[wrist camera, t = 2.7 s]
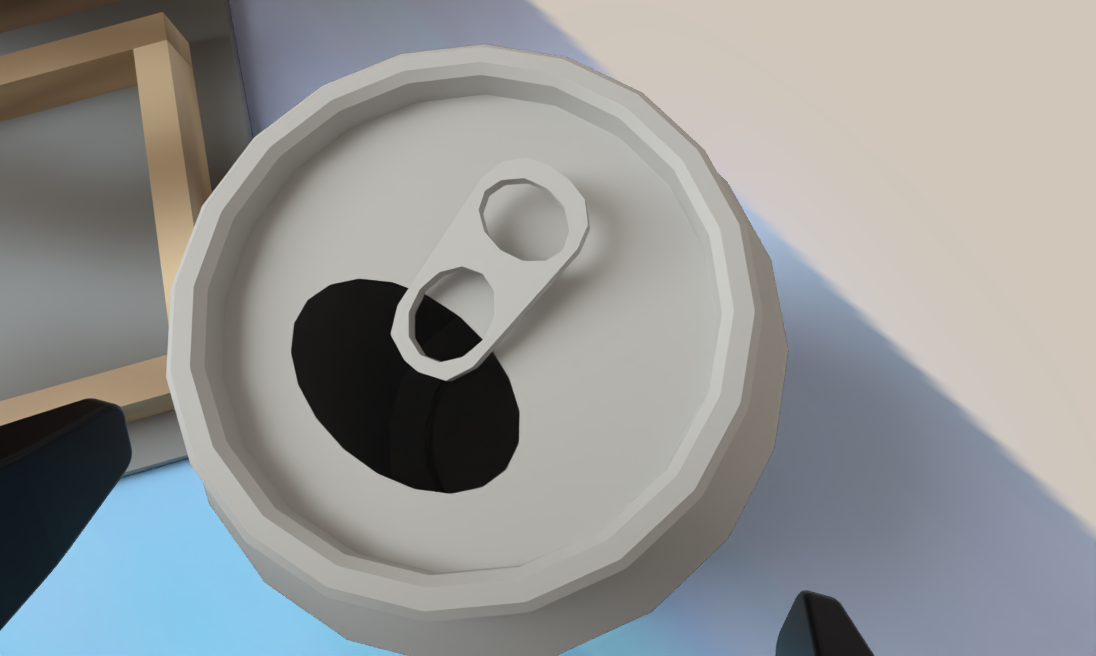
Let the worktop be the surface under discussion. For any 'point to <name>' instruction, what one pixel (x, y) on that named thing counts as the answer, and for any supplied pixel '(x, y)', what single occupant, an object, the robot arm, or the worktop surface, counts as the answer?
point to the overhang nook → (107, 196)
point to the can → (476, 354)
